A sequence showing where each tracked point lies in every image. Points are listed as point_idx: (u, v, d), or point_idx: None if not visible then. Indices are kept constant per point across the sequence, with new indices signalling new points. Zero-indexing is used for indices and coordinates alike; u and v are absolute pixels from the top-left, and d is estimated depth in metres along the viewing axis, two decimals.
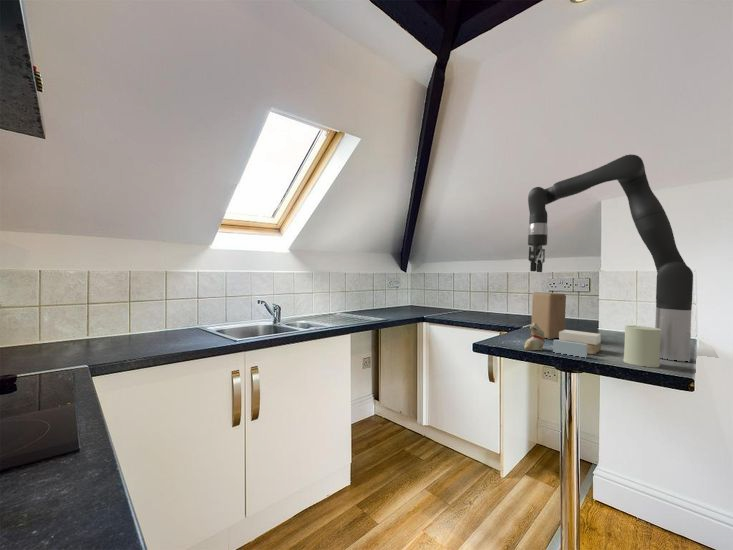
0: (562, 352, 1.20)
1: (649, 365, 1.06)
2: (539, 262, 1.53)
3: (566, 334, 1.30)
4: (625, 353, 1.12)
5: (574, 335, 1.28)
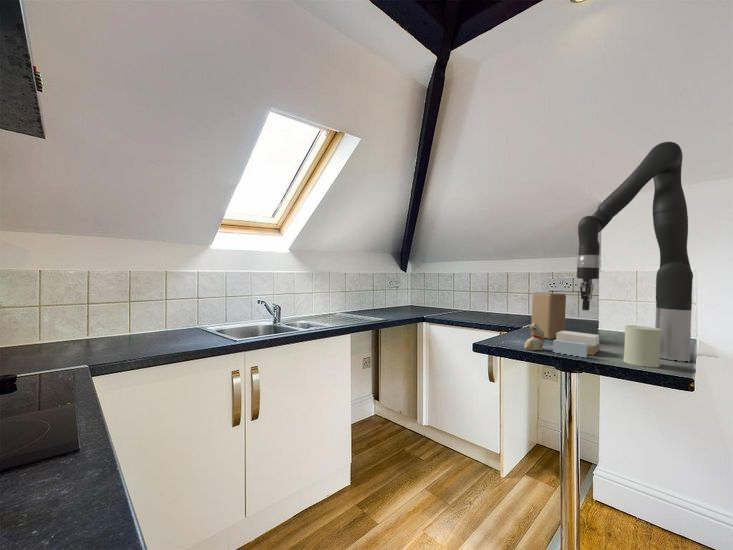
0: (562, 352, 1.20)
1: (649, 365, 1.06)
2: None
3: (564, 335, 1.27)
4: (625, 353, 1.12)
5: (572, 336, 1.25)
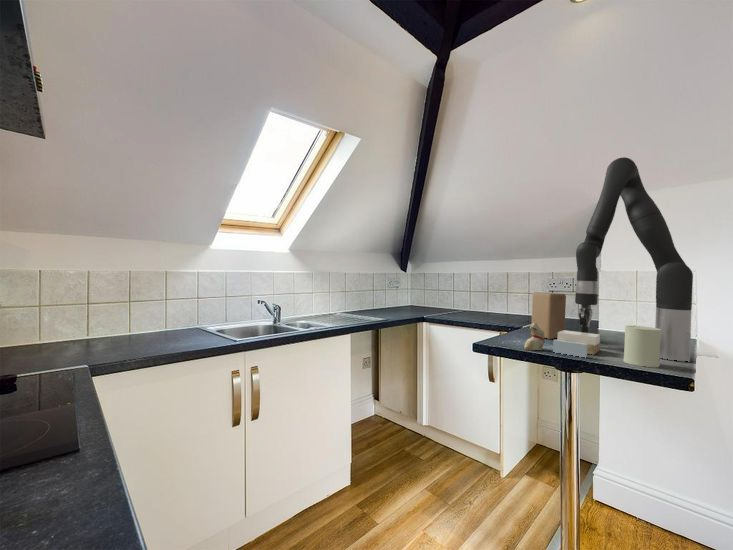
0: (562, 352, 1.20)
1: (649, 365, 1.06)
2: None
3: (565, 335, 1.28)
4: (625, 353, 1.12)
5: (573, 336, 1.26)
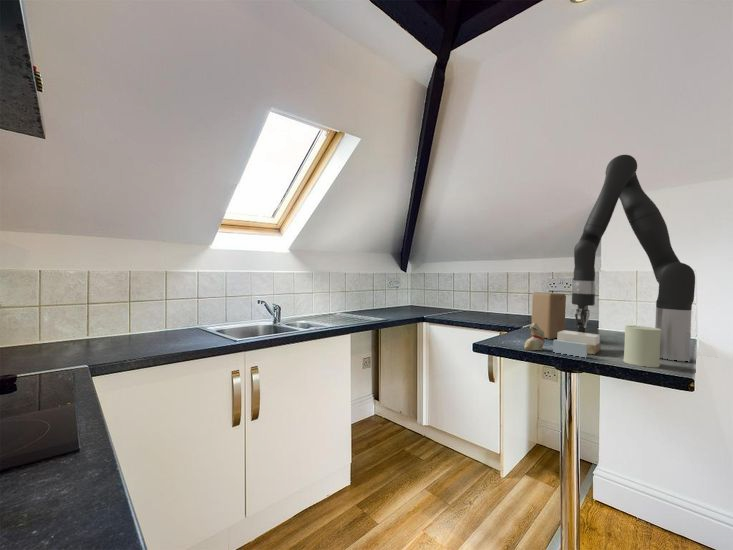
0: (562, 352, 1.20)
1: (649, 365, 1.06)
2: None
3: (565, 335, 1.28)
4: (625, 353, 1.12)
5: (573, 336, 1.26)
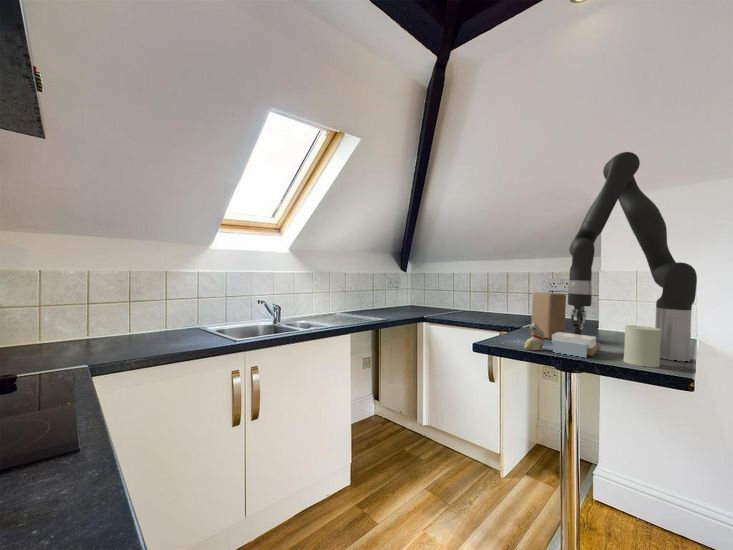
0: (562, 352, 1.20)
1: (649, 365, 1.06)
2: None
3: (559, 337, 1.22)
4: (625, 353, 1.12)
5: (568, 338, 1.21)
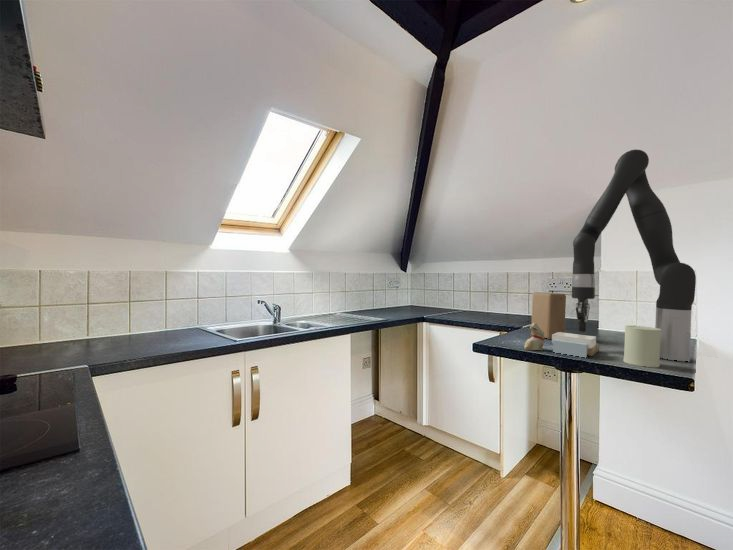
0: (562, 352, 1.20)
1: (649, 365, 1.06)
2: None
3: (559, 337, 1.22)
4: (625, 353, 1.12)
5: (568, 338, 1.21)
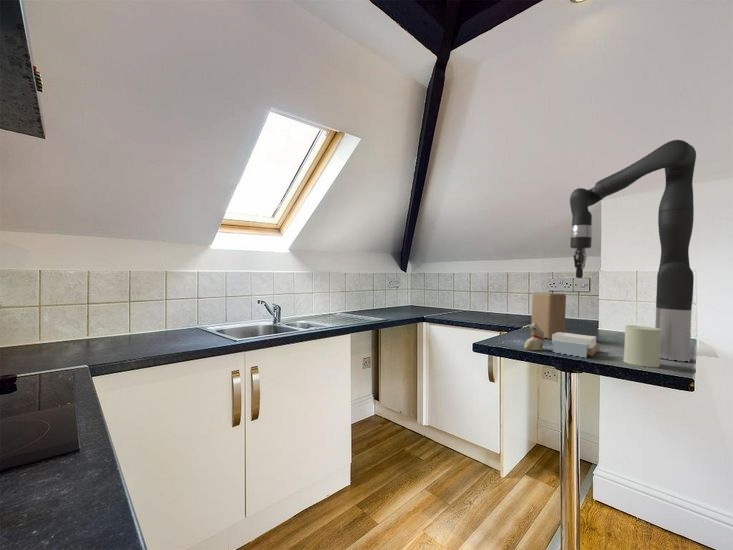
0: (562, 352, 1.20)
1: (649, 365, 1.06)
2: None
3: (559, 337, 1.22)
4: (625, 353, 1.12)
5: (568, 338, 1.21)
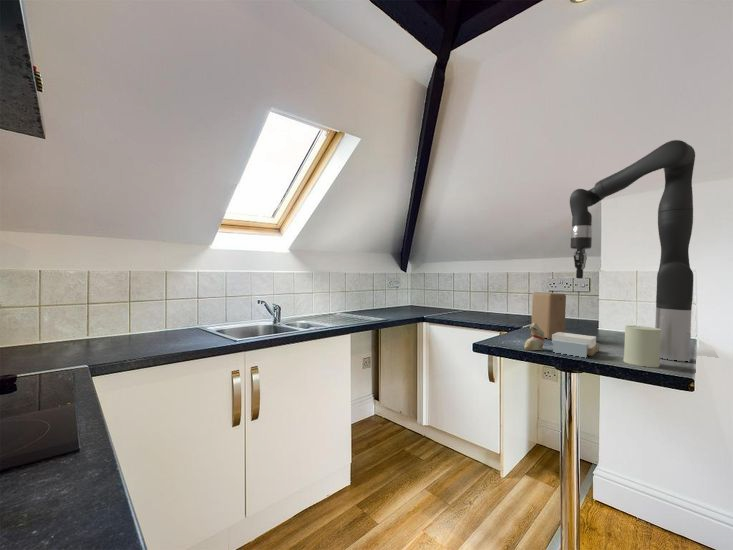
0: (562, 352, 1.20)
1: (649, 365, 1.06)
2: None
3: (559, 337, 1.22)
4: (625, 353, 1.12)
5: (568, 338, 1.21)
